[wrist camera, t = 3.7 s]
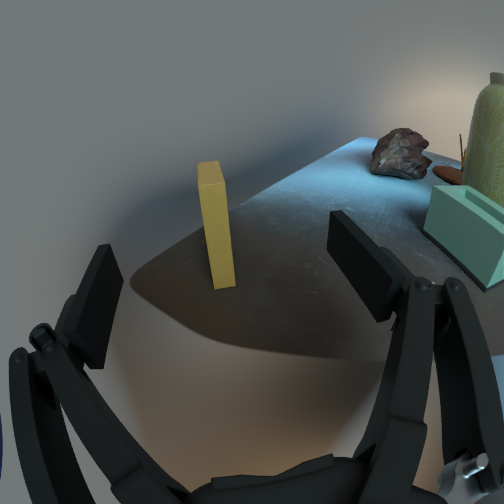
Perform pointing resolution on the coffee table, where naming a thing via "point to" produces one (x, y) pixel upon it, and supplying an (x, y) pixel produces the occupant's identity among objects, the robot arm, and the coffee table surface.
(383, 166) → the mineral specimen
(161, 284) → the coffee table surface
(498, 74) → the vase
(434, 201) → the toaster
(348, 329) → the coffee table surface
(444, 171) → the incense holder
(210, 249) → the toast
